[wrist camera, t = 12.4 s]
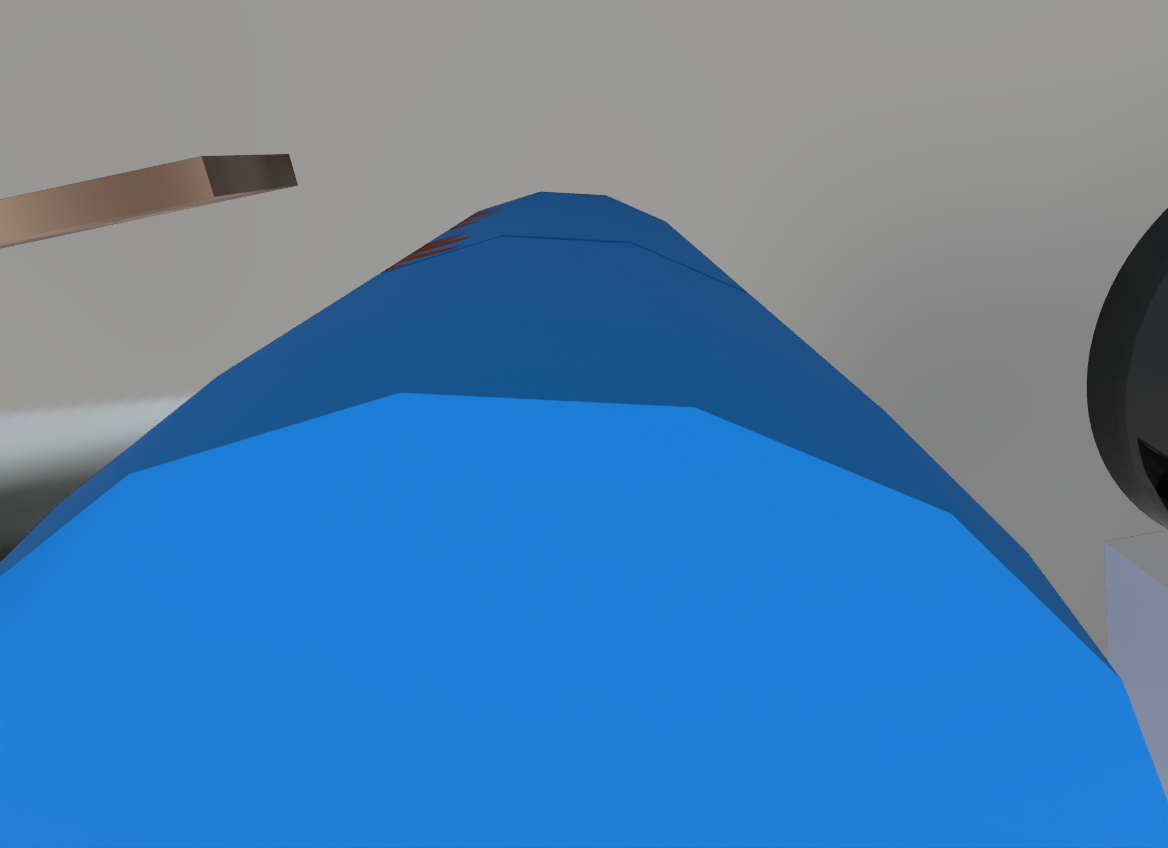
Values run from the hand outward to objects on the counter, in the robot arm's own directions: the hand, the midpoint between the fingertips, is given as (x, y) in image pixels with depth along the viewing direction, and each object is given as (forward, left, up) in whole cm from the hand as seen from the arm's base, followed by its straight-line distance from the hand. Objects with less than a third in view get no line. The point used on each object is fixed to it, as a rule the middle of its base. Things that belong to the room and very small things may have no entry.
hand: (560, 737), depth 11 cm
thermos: (0, 0, -21) cm, 21 cm away
